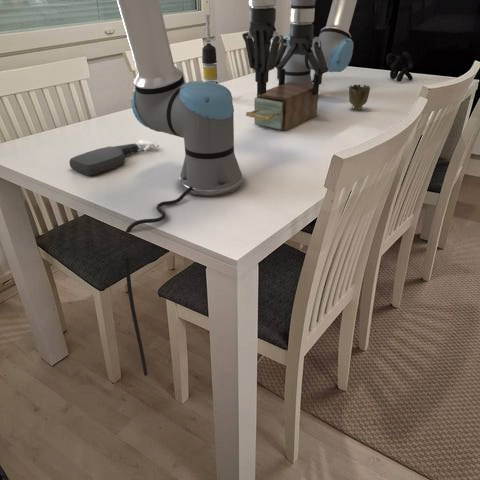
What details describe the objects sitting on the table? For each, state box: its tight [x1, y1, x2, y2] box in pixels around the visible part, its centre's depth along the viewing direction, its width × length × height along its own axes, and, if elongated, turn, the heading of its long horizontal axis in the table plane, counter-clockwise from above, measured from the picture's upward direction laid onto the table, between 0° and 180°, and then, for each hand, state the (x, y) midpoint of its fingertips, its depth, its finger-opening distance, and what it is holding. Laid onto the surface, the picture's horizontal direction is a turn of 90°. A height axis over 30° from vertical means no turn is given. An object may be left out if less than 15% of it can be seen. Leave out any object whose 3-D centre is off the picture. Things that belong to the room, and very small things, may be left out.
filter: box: [201, 14, 219, 84], centre depth 171 cm, size 6×6×30 cm
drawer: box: [245, 97, 284, 130], centre depth 147 cm, size 25×10×8 cm, turn 142°
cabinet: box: [256, 82, 319, 132], centre depth 151 cm, size 20×11×10 cm, turn 142°
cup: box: [348, 84, 371, 111], centre depth 160 cm, size 7×7×8 cm
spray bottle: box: [68, 139, 160, 177], centre depth 124 cm, size 3×11×24 cm
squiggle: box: [385, 51, 414, 83], centre depth 198 cm, size 11×10×15 cm
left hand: (261, 93), depth 137 cm, fingers closed
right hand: (298, 91), depth 153 cm, fingers open, 13 cm apart
